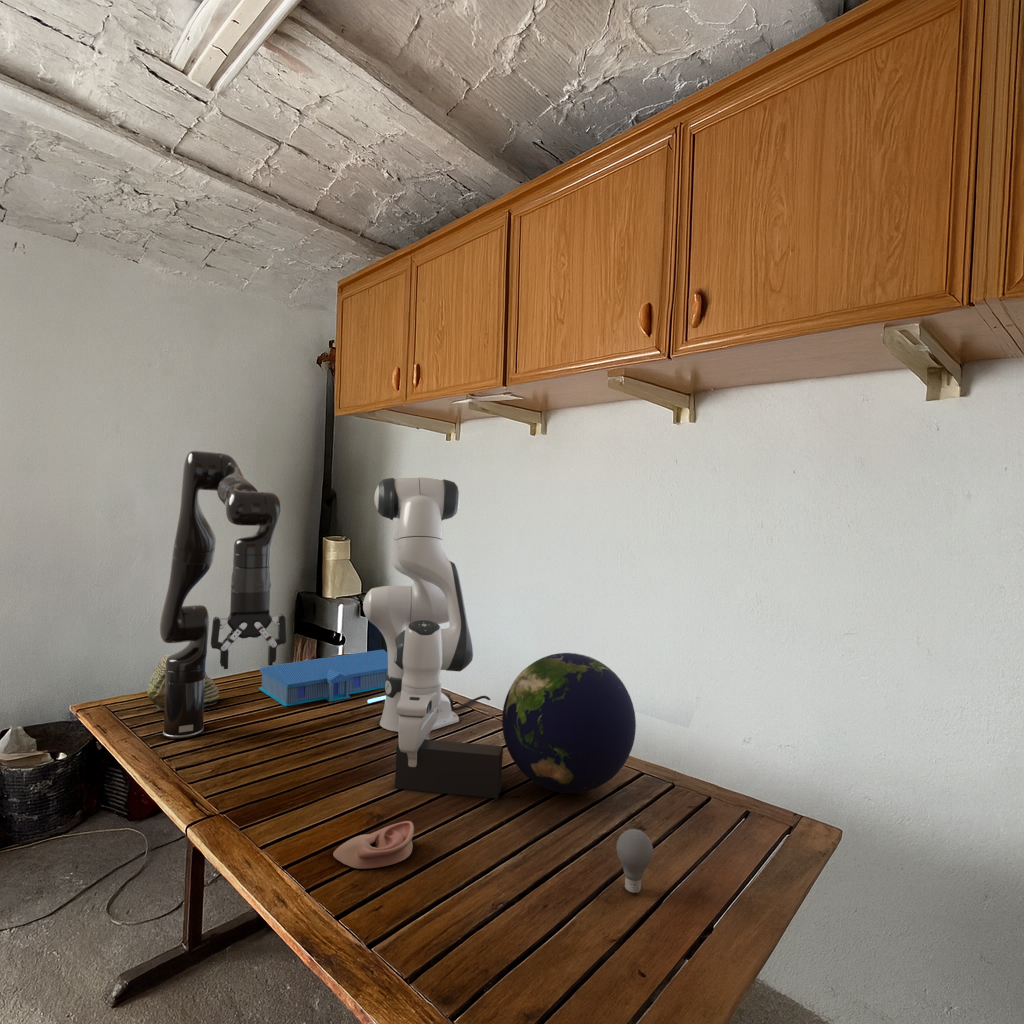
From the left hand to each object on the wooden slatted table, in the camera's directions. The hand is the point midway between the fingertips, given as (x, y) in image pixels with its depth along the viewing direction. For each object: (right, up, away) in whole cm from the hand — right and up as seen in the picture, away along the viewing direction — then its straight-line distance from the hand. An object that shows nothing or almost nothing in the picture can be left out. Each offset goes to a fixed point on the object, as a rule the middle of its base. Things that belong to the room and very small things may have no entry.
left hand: (248, 666), depth 131 cm
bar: (+40, -29, +10) cm, 51 cm away
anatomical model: (+30, -29, -17) cm, 45 cm away
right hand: (+34, -23, +11) cm, 42 cm away
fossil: (-42, -25, +54) cm, 73 cm away
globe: (+67, -30, +12) cm, 74 cm away
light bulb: (+75, -32, -25) cm, 85 cm away
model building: (-4, -26, +77) cm, 82 cm away
